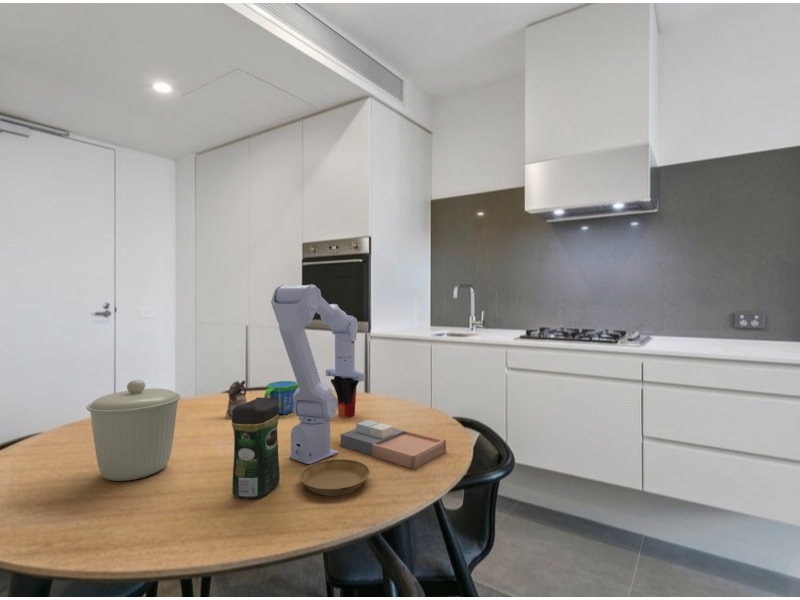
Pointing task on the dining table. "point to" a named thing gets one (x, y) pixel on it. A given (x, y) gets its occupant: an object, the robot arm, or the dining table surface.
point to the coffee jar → (255, 448)
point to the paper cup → (347, 407)
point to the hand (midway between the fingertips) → (345, 403)
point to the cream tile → (381, 430)
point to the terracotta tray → (410, 449)
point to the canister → (133, 431)
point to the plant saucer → (335, 476)
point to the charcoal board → (365, 440)
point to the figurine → (236, 397)
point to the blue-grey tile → (365, 426)
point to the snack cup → (282, 395)
